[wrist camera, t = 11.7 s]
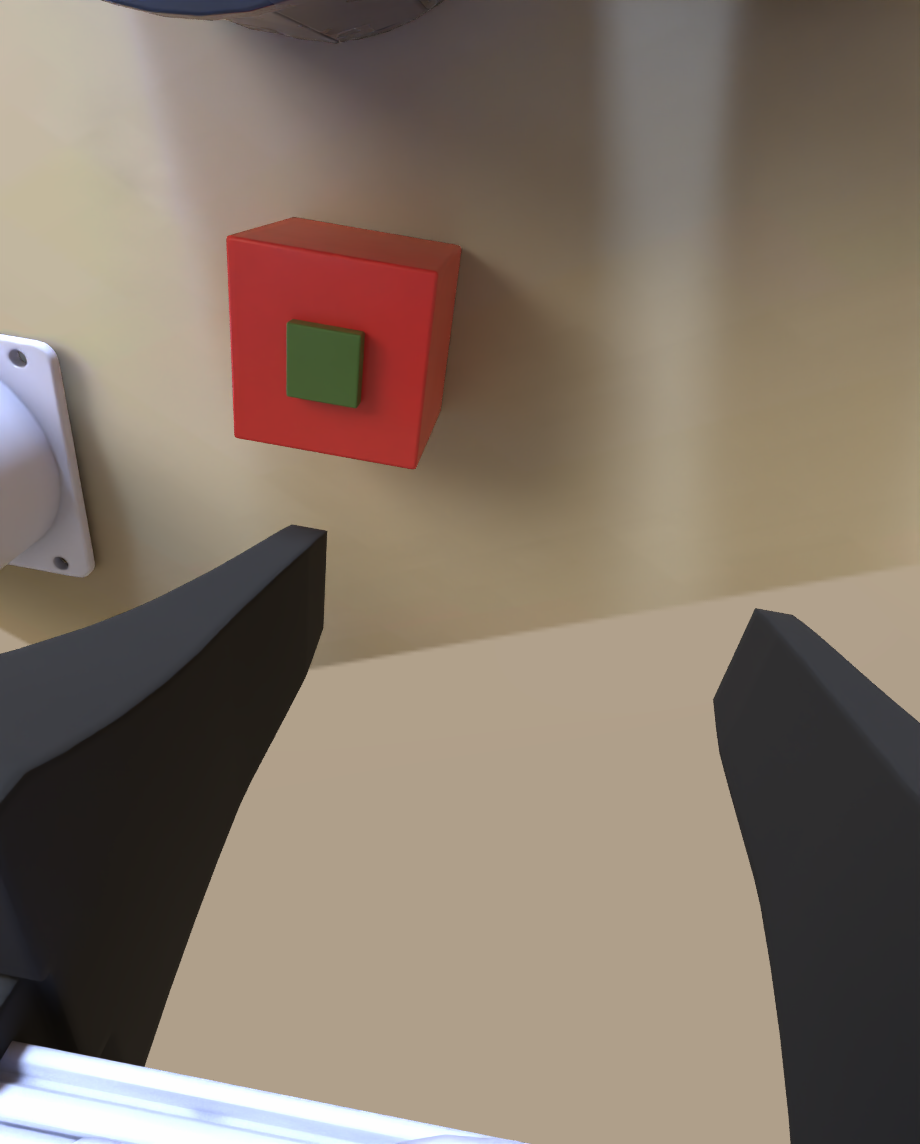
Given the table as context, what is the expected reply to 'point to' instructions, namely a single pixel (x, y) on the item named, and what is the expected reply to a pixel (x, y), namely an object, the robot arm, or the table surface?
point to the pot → (338, 18)
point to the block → (339, 338)
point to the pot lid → (207, 7)
